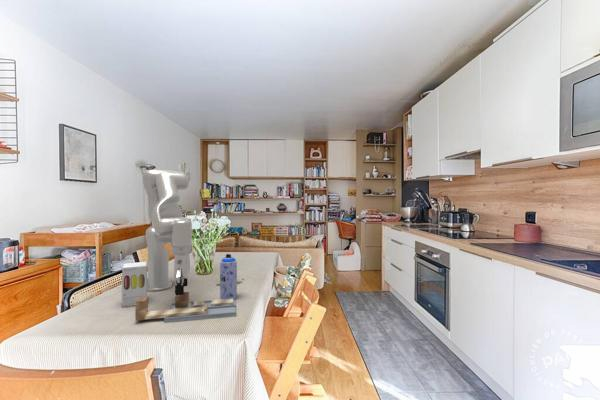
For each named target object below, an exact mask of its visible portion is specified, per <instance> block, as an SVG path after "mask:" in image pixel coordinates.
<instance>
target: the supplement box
mask: <svg viewBox="0 0 600 400" xmlns="http://www.w3.org/2000/svg"><path fill="white" fill-rule="evenodd" d="M121 272H122V274H121V275H122V278H121V279H122V280H121V308H127V307H133V306H135V301H136V300H137V299H138V298H139V297H146V296H148V291H147V279H148V261H142V262H141V261H140V262H139V261H138V262H128V263H127V262H125V263H123V265H122V270H121Z"/></svg>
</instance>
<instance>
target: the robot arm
mask: <svg viewBox="0 0 600 400" xmlns="http://www.w3.org/2000/svg"><path fill="white" fill-rule="evenodd" d="M142 184H143V187H144V191H145V192H146V196H147V212H148V213H147V215H148V220H149V222H150V223H152V226H149V227H148V228H147V229H146V230H145V239H146V247H147V292H156V291H163V290H167V289H170V288H172V286H173V283H172V282H171V281H169V279H170V277H169V272H170V271H169V270H170V269H169V265H170V263H169V260H170V258H169V256H170V255H169V250H168V249H167V247H165V246H164V245H165V244H171V254H172V256H174V262H173V263H174V266H173V268H174V269H173V271H174V274H173V276H174V279H175V282H174V283H175V284H174V295H175V296H176V295H183V294H184V292H185V287H188V280H189V279H188V278H189V275H190V274H191V264H190V263H191V259H190V258H191V257H190V254H192V252H193V251H192V247H193V245H192V244H193V243H192V235H193V234H192V232H193V231H192V230H193V226H192V225H193V224H192V221H191V219H188V218H187V217H185V216H184V217H183V211H182V208H181V206H180V205H179V204H178V203H179V202H180V200H181V198H180V193H179V190H187V188H188V187H189V178H188V175H187V174H186V173H185V172H182V171H179V170H171V169H157V168H156V169H147V170H144V171H143V175H142Z"/></svg>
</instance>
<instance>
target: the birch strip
mask: <svg viewBox="0 0 600 400" xmlns="http://www.w3.org/2000/svg"><path fill="white" fill-rule="evenodd" d="M134 306H135V307H134V308H135V309H134V310H135V321H136V322H137V321H144V320H155V319H164V318H167V317H179V316H190V315H201V314H207V311H208V305H205V307H198V308H186V309H174V310H170V309H165V310H151V311H149V296H148V295H147V296H146V297H139V298H138V299H137V300H136V301H135V305H134Z"/></svg>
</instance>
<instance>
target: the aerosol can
mask: <svg viewBox="0 0 600 400" xmlns="http://www.w3.org/2000/svg"><path fill="white" fill-rule="evenodd" d="M237 268H238V261H237V259H236V258H235V257H233V256H232V254H231V253H226V254H225V257H224V258H222V259H221V260H219V284H220V285H219V300H220V299H233V298H235V300H236V299H237V298H238V290H237V289H238V287H237V286H238V284H237V282H238V269H237Z"/></svg>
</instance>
